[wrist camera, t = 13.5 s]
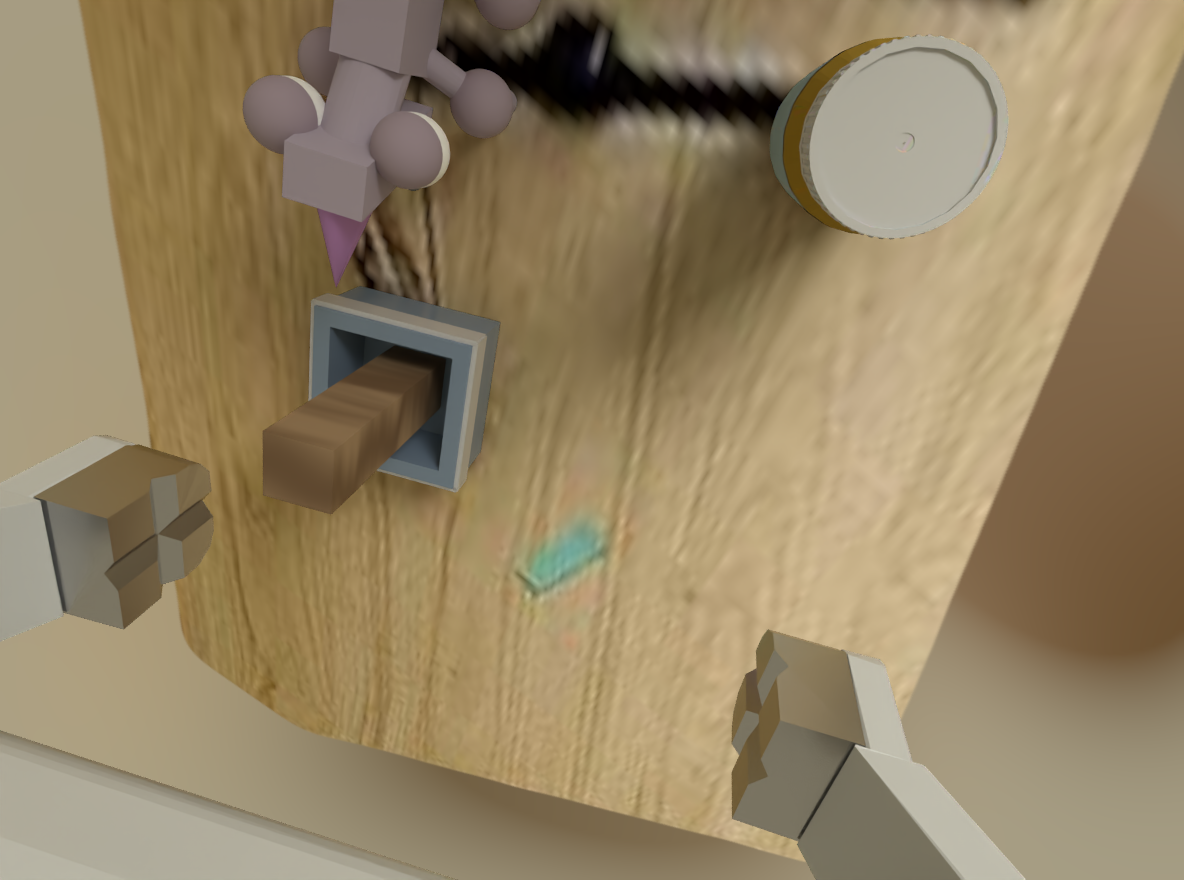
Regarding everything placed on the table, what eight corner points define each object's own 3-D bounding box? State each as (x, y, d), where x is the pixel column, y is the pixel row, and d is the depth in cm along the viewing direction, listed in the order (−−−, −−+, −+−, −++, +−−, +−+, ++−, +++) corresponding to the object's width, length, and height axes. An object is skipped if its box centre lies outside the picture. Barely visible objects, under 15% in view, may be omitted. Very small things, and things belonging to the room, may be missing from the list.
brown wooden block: (394, 345, 44) (262, 430, 31) (446, 358, 44) (334, 450, 31) (390, 394, 46) (263, 495, 33) (440, 408, 45) (331, 514, 33)
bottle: (815, 235, 38) (865, 292, 24) (742, 128, 36) (753, 126, 23) (935, 149, 35) (1065, 160, 22) (862, 29, 34) (954, -39, 20)
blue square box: (356, 280, 44) (309, 299, 39) (505, 318, 43) (477, 343, 38) (348, 419, 48) (305, 452, 43) (484, 456, 47) (456, 494, 42)
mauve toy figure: (505, 275, 42) (415, 335, 30) (343, 221, 42) (188, 258, 30) (596, -121, 33) (521, -267, 21) (390, -185, 34) (199, -366, 21)
